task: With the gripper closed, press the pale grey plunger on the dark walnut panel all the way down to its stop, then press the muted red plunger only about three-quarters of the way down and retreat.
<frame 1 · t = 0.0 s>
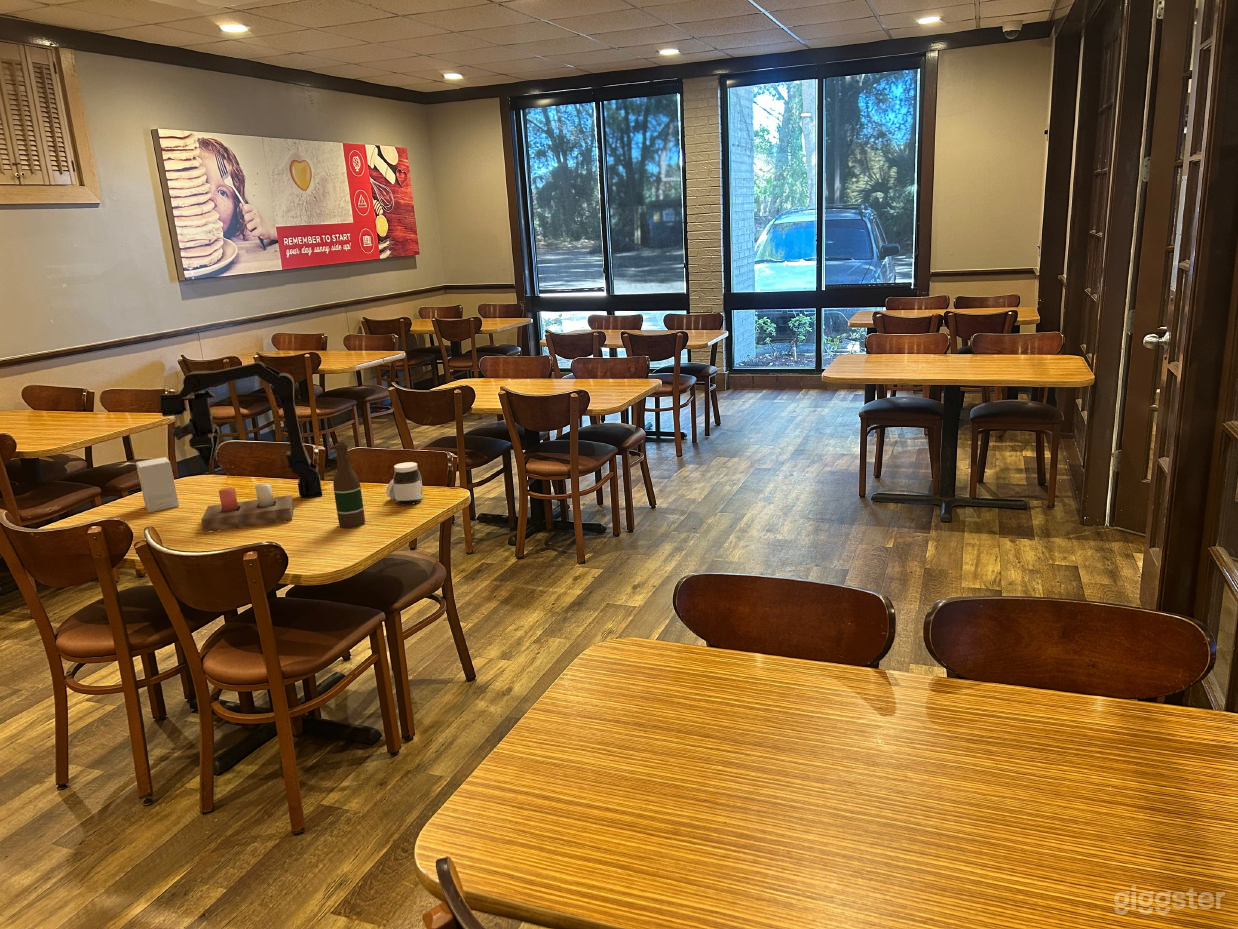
hand: (209, 462, 275), 15 cm above the table, tool pointing down, fingers open, 9 cm apart
press panel: (250, 519, 264), on the table
grey plunger: (264, 495, 264), point 7 cm above the table, slide at 0.0 cm
red plunger: (228, 499, 261), point 7 cm above the table, slide at 0.0 cm
beer bottle: (352, 525, 254), on the table
spread jar: (405, 501, 275), on the table
supplement box: (162, 507, 283), on the table
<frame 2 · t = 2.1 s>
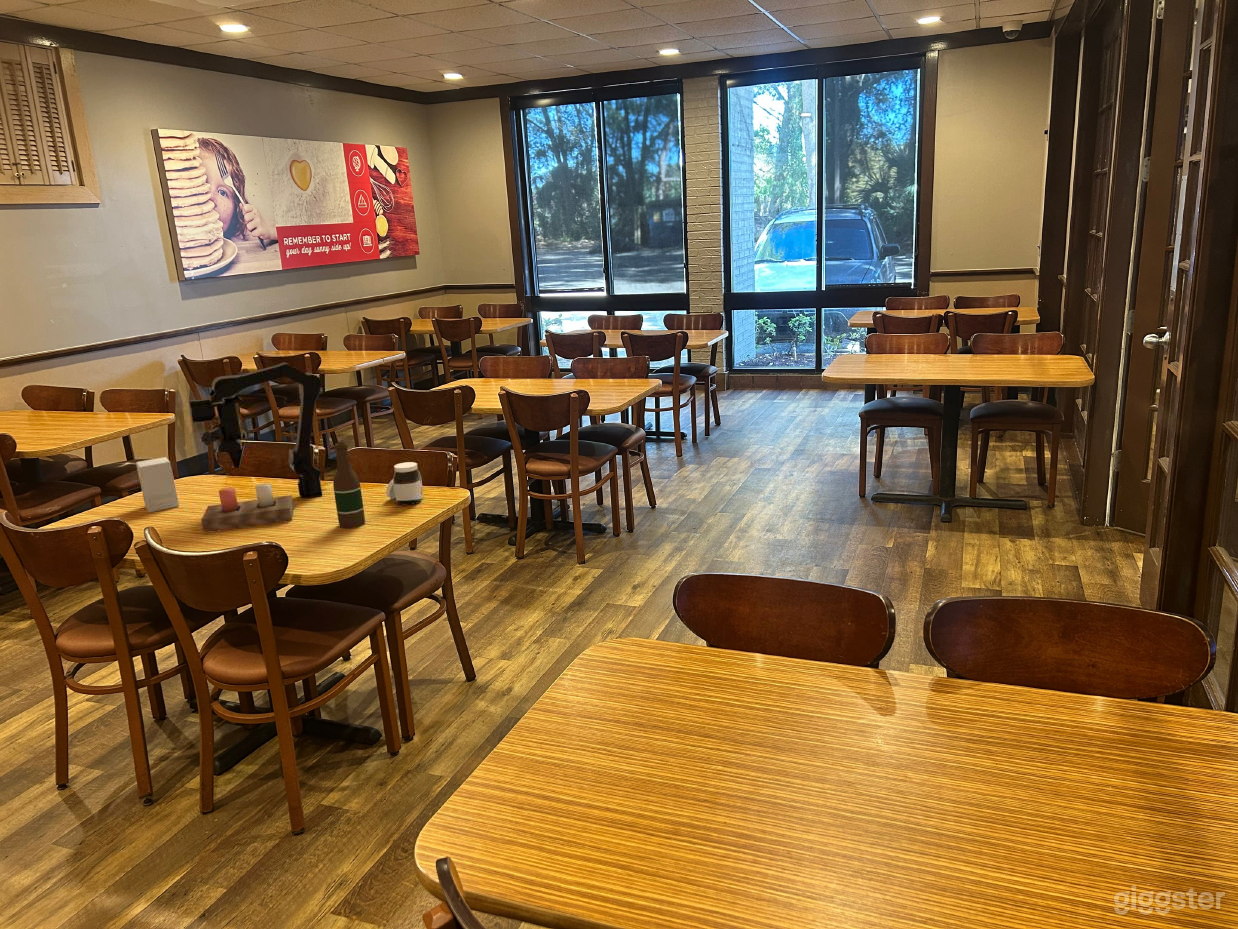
hand: (237, 467, 273), 13 cm above the table, tool pointing down, fingers closed
nothing on the table moved.
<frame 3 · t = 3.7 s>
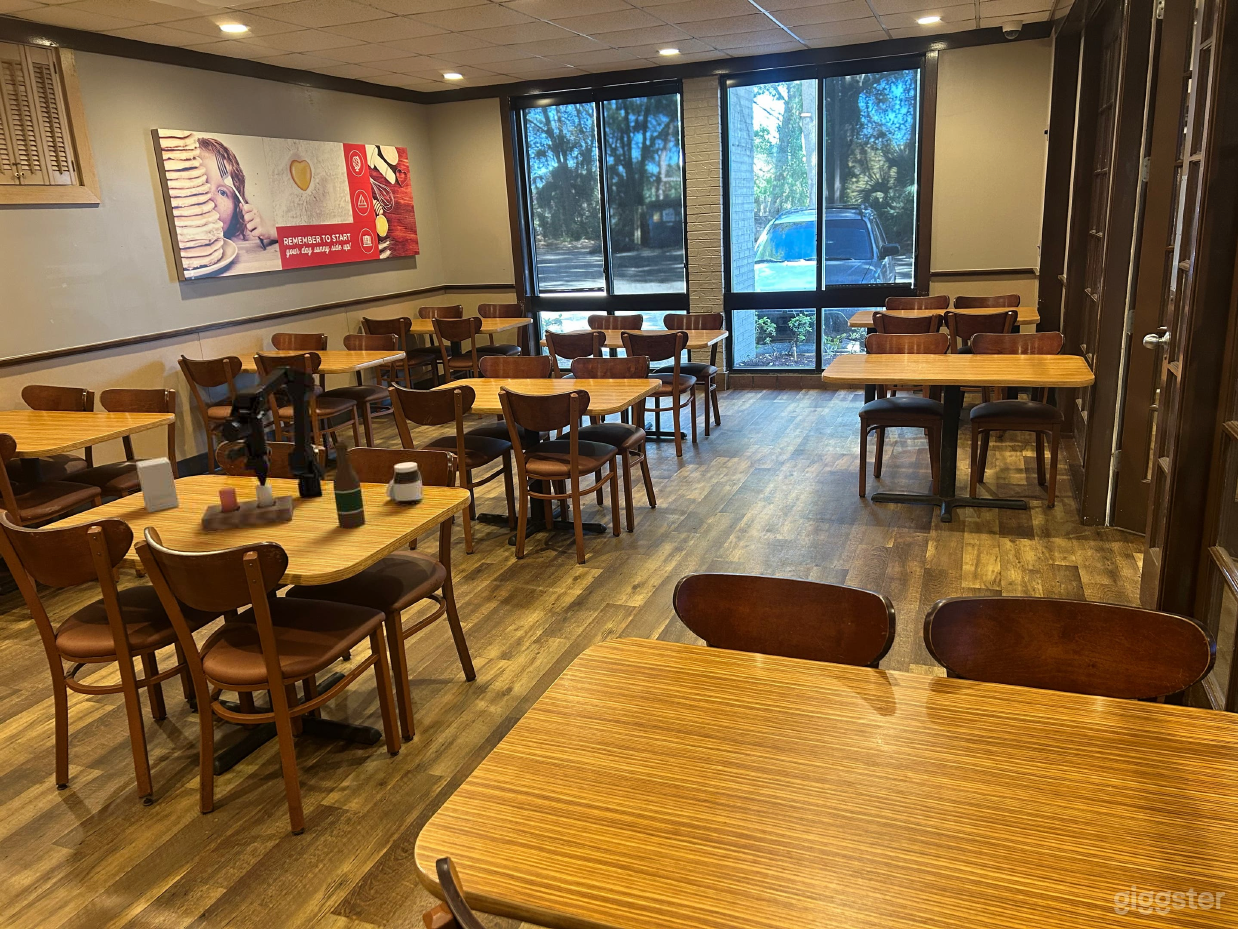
hand: (263, 485, 263), 10 cm above the table, tool pointing down, fingers closed, pressing on grey plunger
grey plunger: (264, 495, 264), point 7 cm above the table, slide at 0.1 cm, touching gripper
everything else where it was.
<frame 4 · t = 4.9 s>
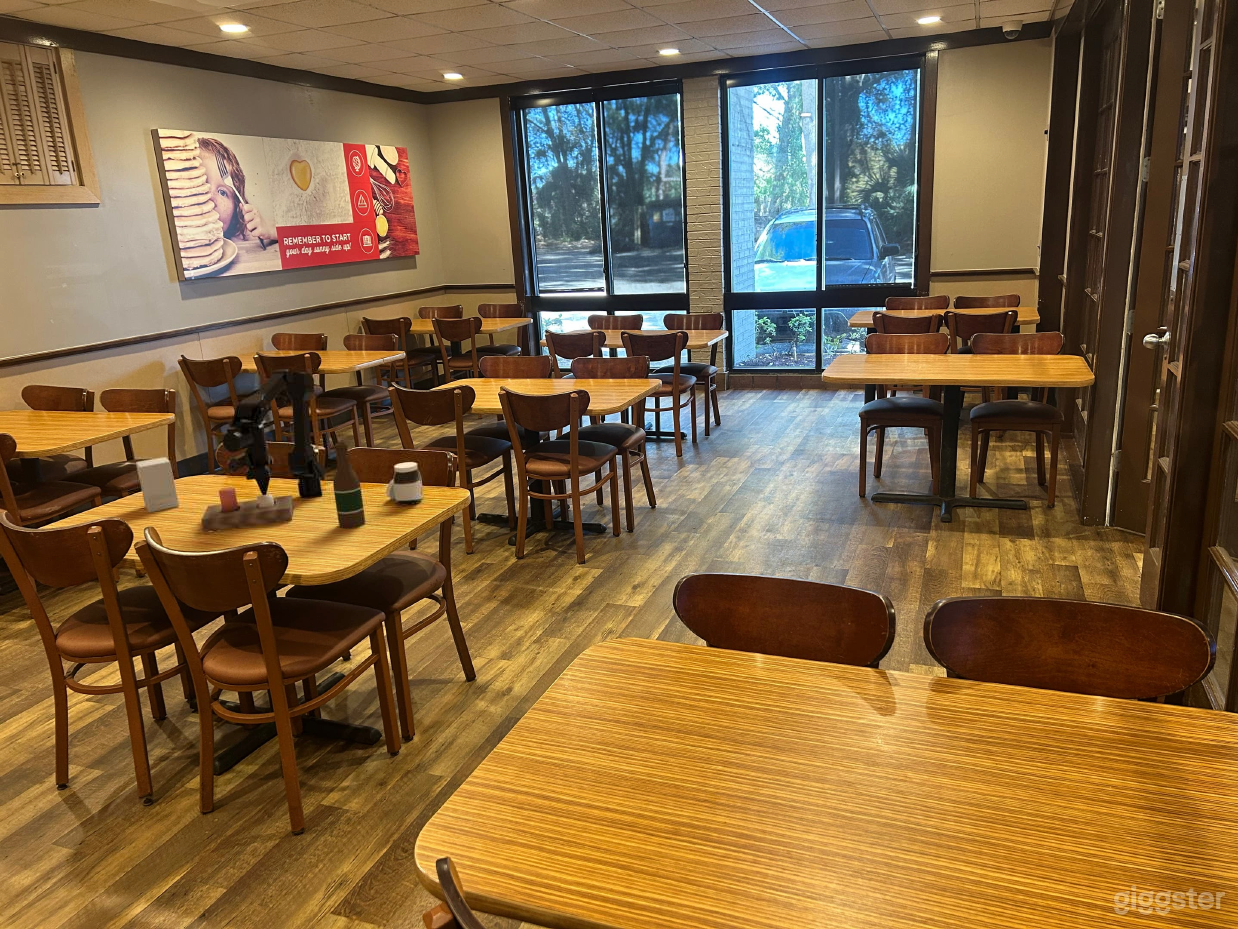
hand: (264, 494, 264), 7 cm above the table, tool pointing down, fingers closed
grey plunger: (266, 505, 265), point 4 cm above the table, slide at 3.2 cm
everything else where it was.
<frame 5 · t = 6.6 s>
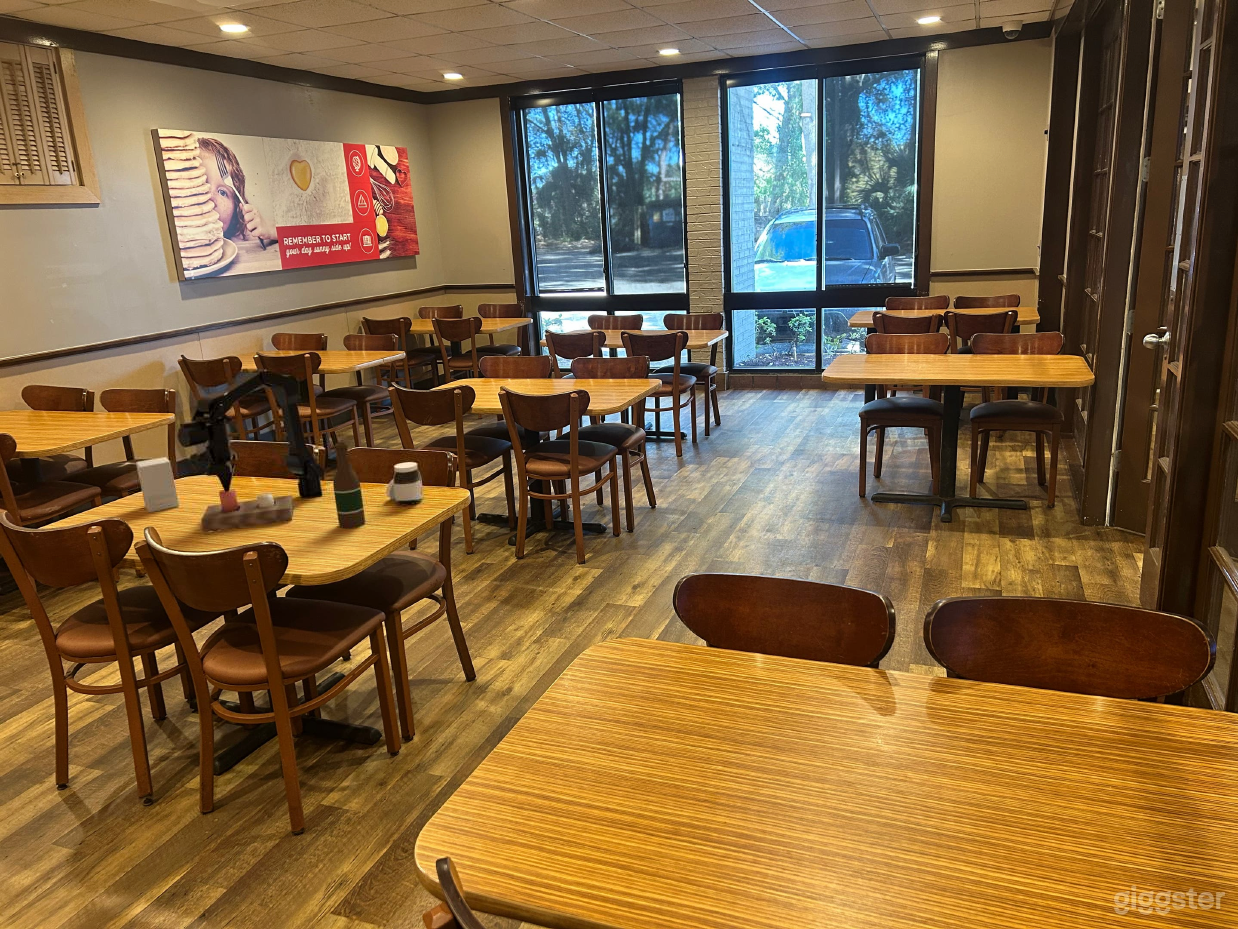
hand: (227, 491, 260), 10 cm above the table, tool pointing down, fingers closed, pressing on red plunger
red plunger: (228, 500, 261), point 7 cm above the table, slide at 0.4 cm, touching gripper
everything else where it was.
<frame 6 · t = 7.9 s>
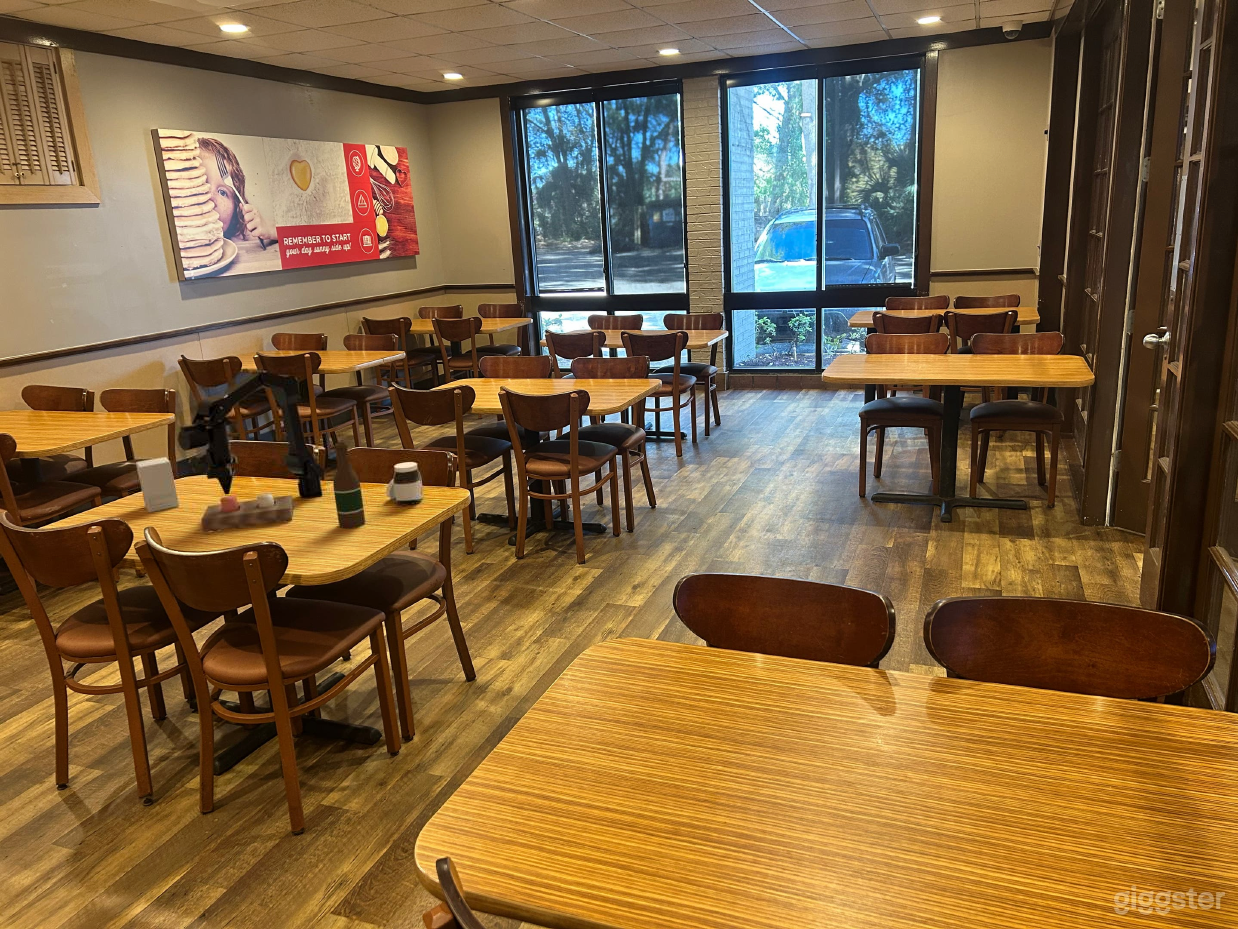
hand: (227, 494, 260), 9 cm above the table, tool pointing down, fingers closed
red plunger: (230, 507, 262), point 4 cm above the table, slide at 2.5 cm
everything else where it was.
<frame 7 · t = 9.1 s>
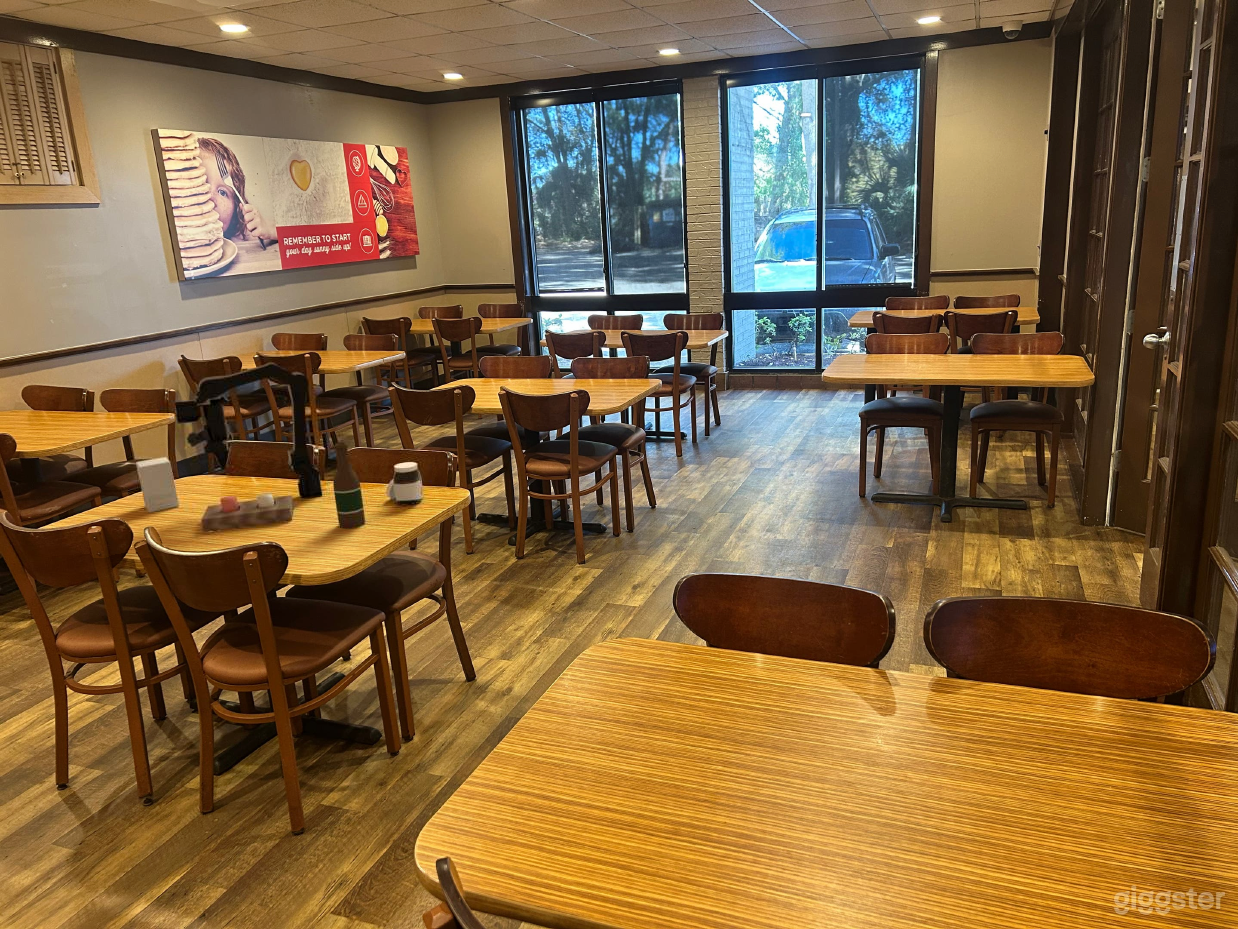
hand: (223, 469, 273), 13 cm above the table, tool pointing down, fingers closed
nothing on the table moved.
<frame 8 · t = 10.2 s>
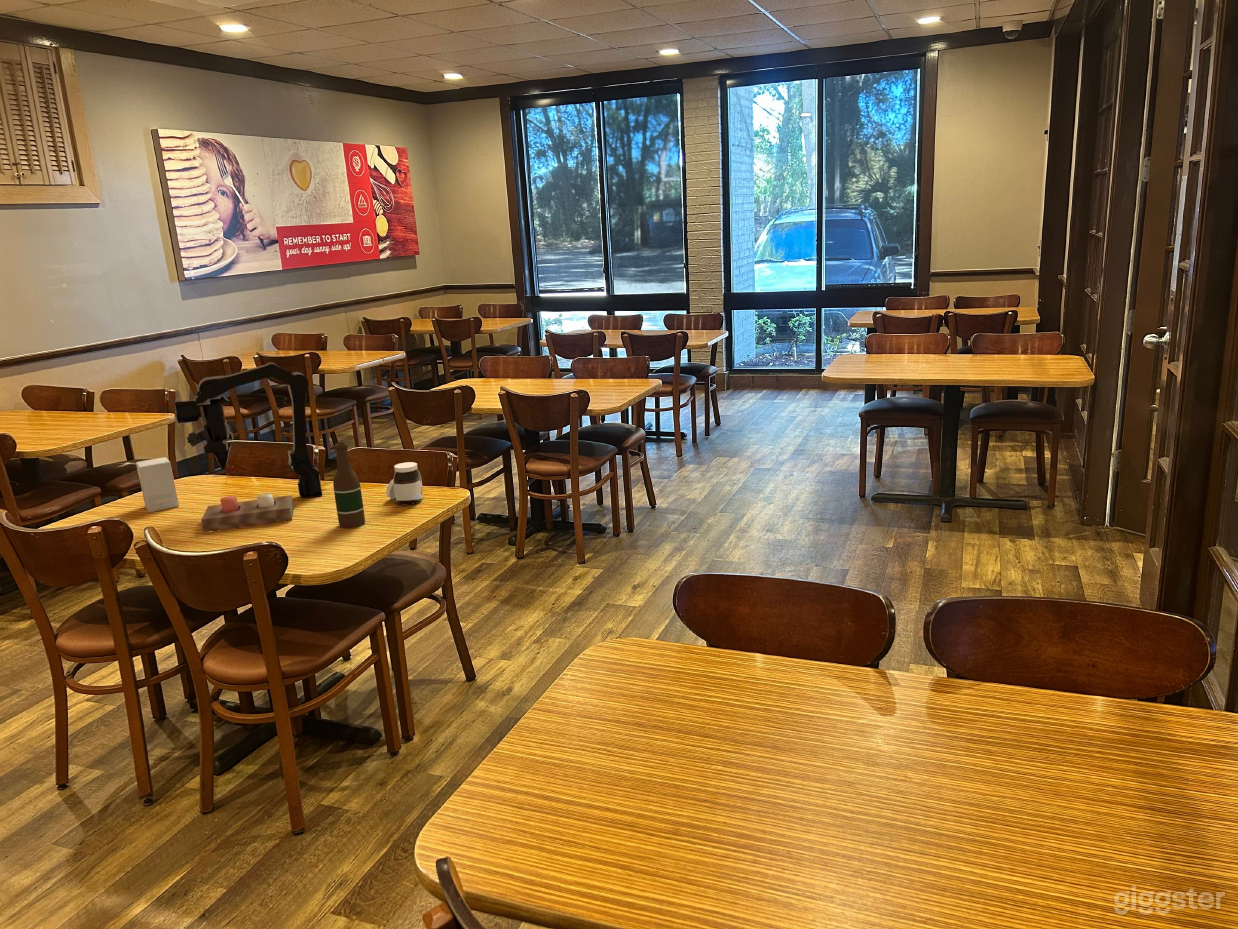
hand: (223, 468, 273), 13 cm above the table, tool pointing down, fingers closed
nothing on the table moved.
at the end: grey plunger slide at 3.2 cm; red plunger slide at 2.5 cm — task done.
